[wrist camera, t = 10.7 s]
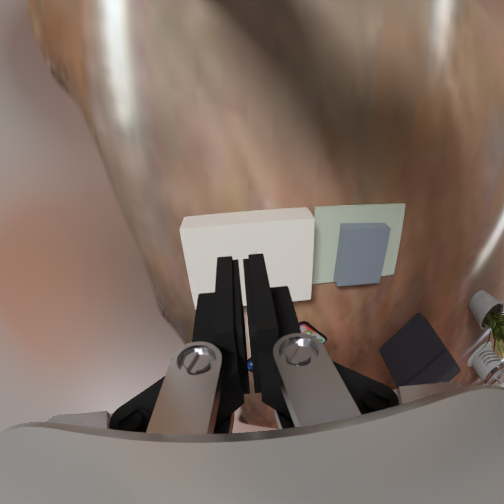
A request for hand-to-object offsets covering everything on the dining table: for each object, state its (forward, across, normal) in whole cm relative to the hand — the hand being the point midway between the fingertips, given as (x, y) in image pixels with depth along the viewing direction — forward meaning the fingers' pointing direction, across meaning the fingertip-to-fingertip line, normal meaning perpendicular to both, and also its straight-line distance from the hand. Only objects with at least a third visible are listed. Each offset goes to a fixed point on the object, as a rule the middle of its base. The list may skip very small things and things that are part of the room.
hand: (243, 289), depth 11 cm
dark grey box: (+27, -30, +34) cm, 53 cm away
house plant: (+27, -51, +30) cm, 65 cm away
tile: (+24, -17, +14) cm, 33 cm away
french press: (+27, -65, +52) cm, 87 cm away
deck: (+27, -1, +13) cm, 30 cm away
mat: (+27, -17, +13) cm, 34 cm away
